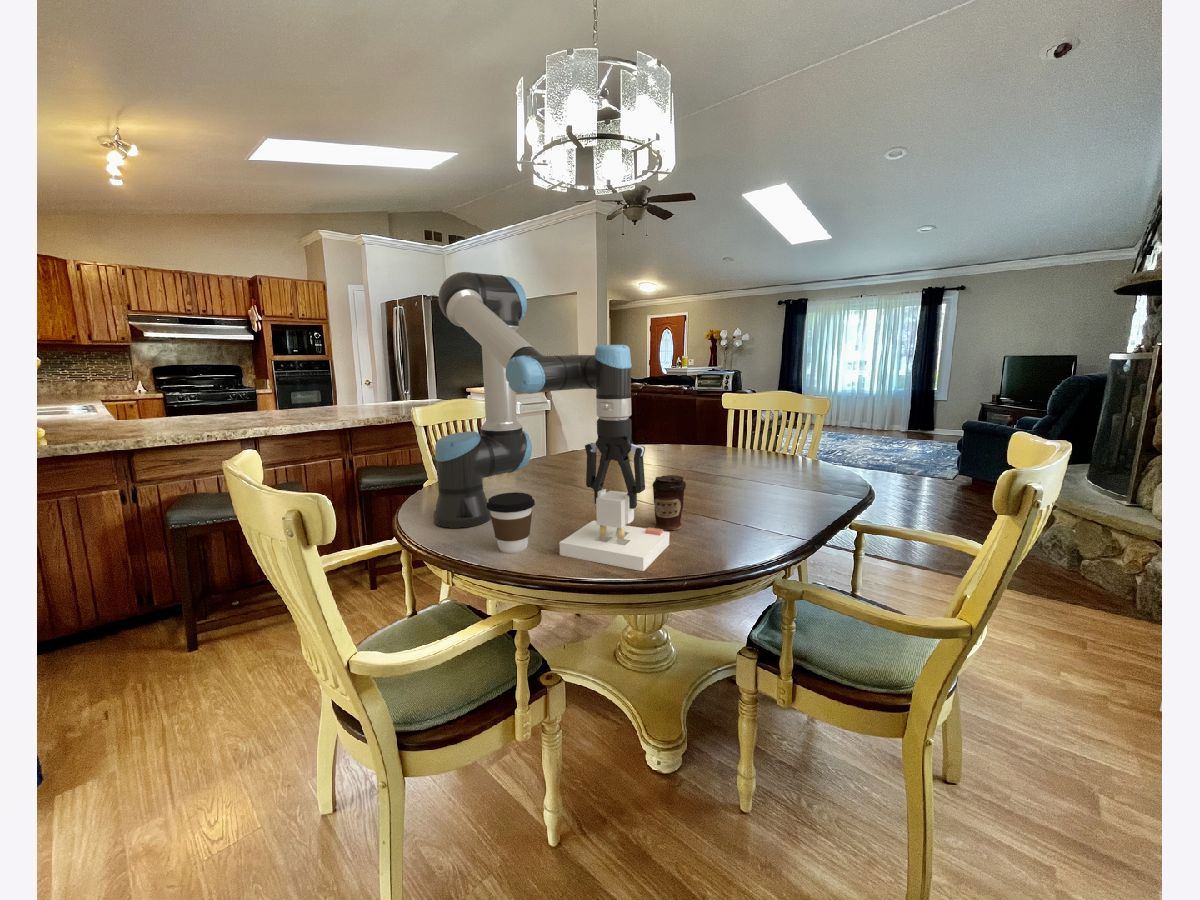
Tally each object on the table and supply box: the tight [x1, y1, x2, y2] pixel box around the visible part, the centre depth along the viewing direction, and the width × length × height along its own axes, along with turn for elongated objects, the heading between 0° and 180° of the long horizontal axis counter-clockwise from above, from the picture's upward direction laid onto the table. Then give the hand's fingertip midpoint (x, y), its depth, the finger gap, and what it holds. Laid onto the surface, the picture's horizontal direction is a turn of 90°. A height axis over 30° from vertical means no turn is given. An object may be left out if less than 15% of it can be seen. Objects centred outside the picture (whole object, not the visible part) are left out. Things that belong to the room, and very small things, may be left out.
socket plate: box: [558, 520, 670, 572], centre depth 113 cm, size 16×20×4 cm
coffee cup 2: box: [652, 474, 687, 531], centre depth 126 cm, size 9×8×13 cm
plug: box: [595, 490, 635, 539], centre depth 112 cm, size 7×6×9 cm
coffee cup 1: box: [487, 492, 536, 554], centre depth 114 cm, size 11×11×12 cm
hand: (615, 519), depth 112 cm, fingers closed on plug, 6 cm apart
